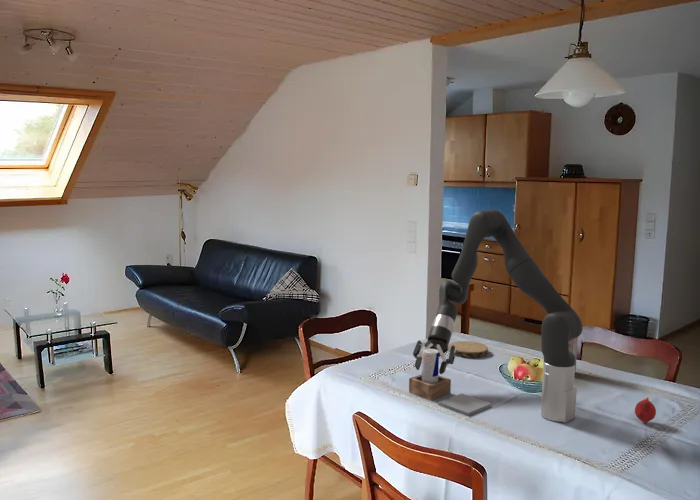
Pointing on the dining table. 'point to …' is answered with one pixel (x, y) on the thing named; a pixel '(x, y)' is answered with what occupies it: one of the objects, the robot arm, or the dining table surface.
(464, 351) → the round wood slice
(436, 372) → the beverage can
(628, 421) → the dining table surface
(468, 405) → the slate coaster
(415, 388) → the walnut holder
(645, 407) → the onion
